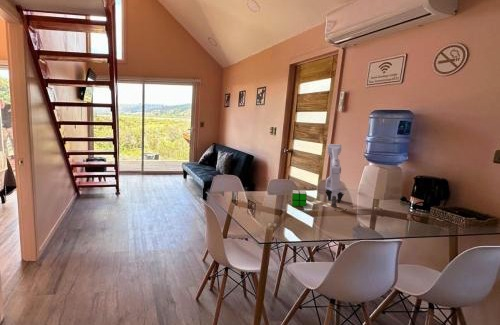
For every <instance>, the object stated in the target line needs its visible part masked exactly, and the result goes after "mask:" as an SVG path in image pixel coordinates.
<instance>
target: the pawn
mask: <svg viewBox="0 0 500 325" xmlns="http://www.w3.org/2000/svg"><path fill="white" fill-rule="evenodd" d="M330 204H331V207H336V208H337V205H338V204H337V200H336V196H333V197H332V200H331V203H330Z"/></svg>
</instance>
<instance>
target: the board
mask: <svg viewBox="0 0 500 325" xmlns="http://www.w3.org/2000/svg"><path fill="white" fill-rule="evenodd" d="M309 203H310V204H315V205H318V206H323V207H326V208H330V209H334V211H336V212H343V211H345V210H348V207H344V206H342V205H338V204H336V205H337V207H331V204H332V203H329V202H325V201H321V200H314V201H310V202H309Z"/></svg>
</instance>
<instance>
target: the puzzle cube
mask: <svg viewBox="0 0 500 325" xmlns="http://www.w3.org/2000/svg"><path fill="white" fill-rule="evenodd" d="M306 206H307V191H306V190H295V189H294V190H291V207H292V208H299V207H306Z"/></svg>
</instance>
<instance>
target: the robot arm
mask: <svg viewBox="0 0 500 325" xmlns="http://www.w3.org/2000/svg"><path fill="white" fill-rule="evenodd" d="M341 152H342V144H341V143H340V144H339V143H338V144H336V143H328V144H327V155H329V157H330V166H329V167H330V168H329V176H328V177H327V178H326V180H325V187H324V188H325V189H324V190H325V194H326V200H327V201H328V202H332V197H333V196H336V201H337V204H340V203H341V201H342V198H343V197H344V195H345V193H346V191H345V190H344V189H340V178H341V177H340V176H341V173H342V166H341V163H340V161H341V160H340V159H339V156H340V155H341Z"/></svg>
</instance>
